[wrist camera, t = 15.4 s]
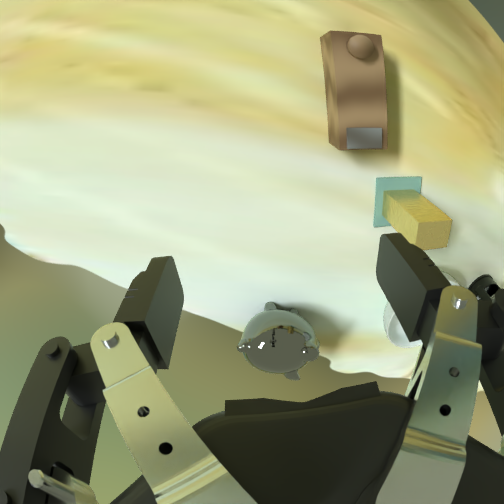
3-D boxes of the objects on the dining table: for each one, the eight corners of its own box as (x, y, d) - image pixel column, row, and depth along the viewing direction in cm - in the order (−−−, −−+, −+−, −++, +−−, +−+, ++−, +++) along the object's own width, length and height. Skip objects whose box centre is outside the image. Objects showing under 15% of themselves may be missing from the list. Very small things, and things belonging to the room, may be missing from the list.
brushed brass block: (383, 190, 40) (418, 222, 31) (416, 189, 40) (454, 219, 31) (381, 214, 42) (413, 251, 33) (413, 212, 42) (448, 246, 33)
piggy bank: (300, 344, 57) (308, 391, 48) (229, 328, 55) (226, 378, 45) (326, 305, 52) (341, 353, 42) (248, 285, 49) (249, 335, 39)
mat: (376, 177, 40) (377, 178, 39) (420, 176, 39) (421, 177, 39) (373, 226, 44) (374, 227, 43) (415, 222, 43) (416, 223, 43)
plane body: (320, 37, 29) (333, 28, 24) (366, 40, 29) (385, 33, 24) (329, 142, 37) (342, 152, 32) (372, 141, 37) (391, 151, 31)
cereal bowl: (423, 242, 45) (442, 264, 39) (457, 282, 51) (474, 303, 45) (359, 305, 52) (370, 332, 46) (402, 334, 58) (413, 357, 52)
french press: (496, 286, 52) (545, 351, 32) (471, 312, 56) (515, 381, 36) (483, 264, 48) (542, 335, 29) (455, 294, 52) (507, 371, 33)
